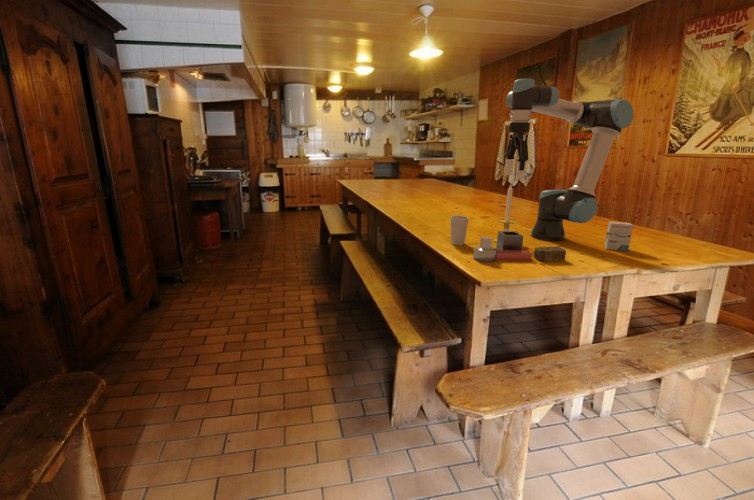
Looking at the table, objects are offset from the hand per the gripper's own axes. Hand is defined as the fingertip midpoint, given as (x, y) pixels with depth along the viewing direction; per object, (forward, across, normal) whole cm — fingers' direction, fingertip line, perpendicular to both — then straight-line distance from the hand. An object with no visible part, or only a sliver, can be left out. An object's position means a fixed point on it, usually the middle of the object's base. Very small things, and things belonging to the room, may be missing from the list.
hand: (514, 177), depth 162 cm
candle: (+32, -16, +4) cm, 36 cm away
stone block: (+32, +11, +14) cm, 37 cm away
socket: (+31, +1, +1) cm, 31 cm away
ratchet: (+31, +11, -5) cm, 34 cm away
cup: (+32, -12, -18) cm, 39 cm away
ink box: (+32, -6, +51) cm, 60 cm away
